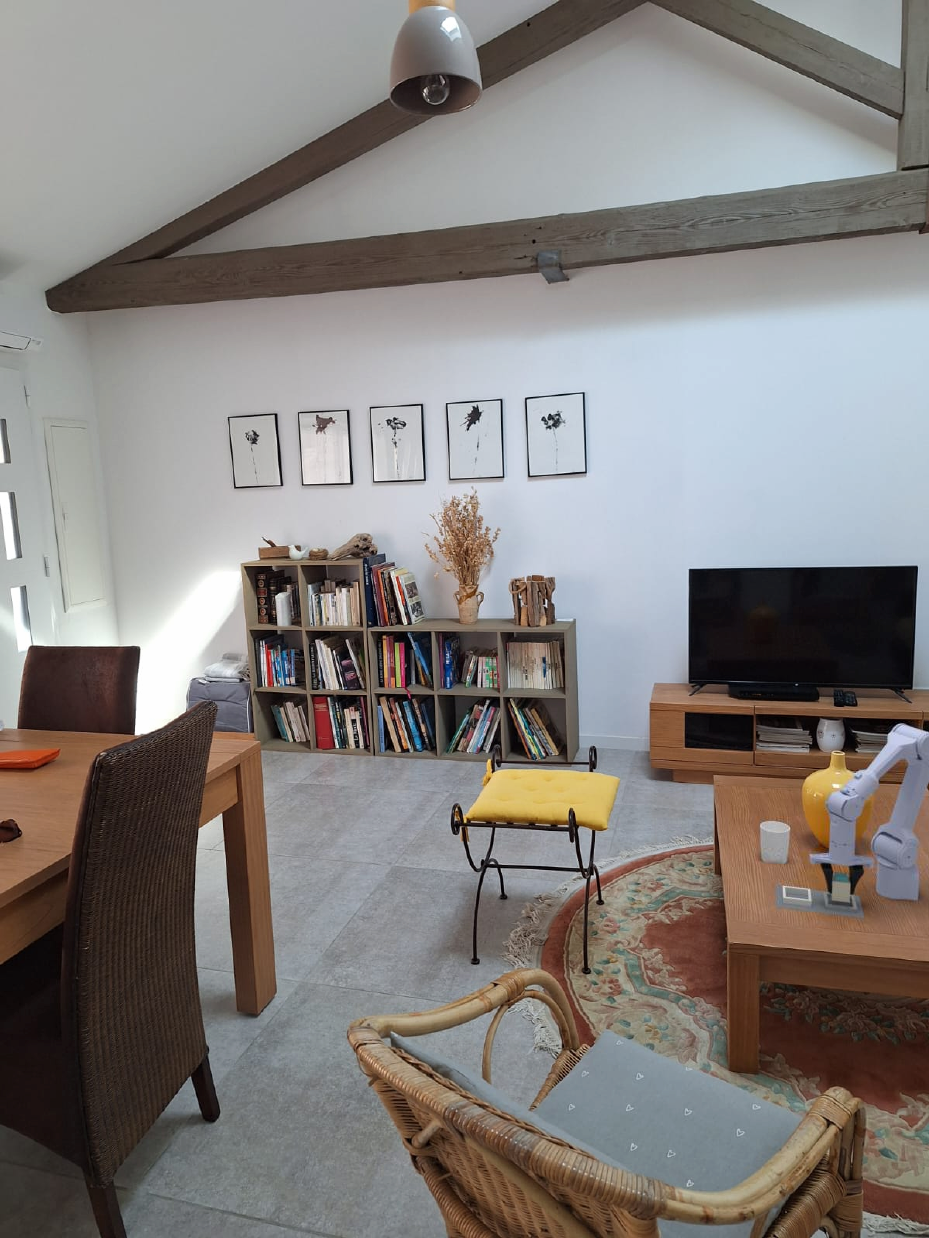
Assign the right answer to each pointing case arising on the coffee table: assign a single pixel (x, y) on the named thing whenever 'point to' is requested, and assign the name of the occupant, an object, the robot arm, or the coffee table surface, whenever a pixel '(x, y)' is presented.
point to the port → (797, 900)
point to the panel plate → (818, 903)
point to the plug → (840, 887)
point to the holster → (838, 907)
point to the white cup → (774, 841)
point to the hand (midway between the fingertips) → (840, 892)
